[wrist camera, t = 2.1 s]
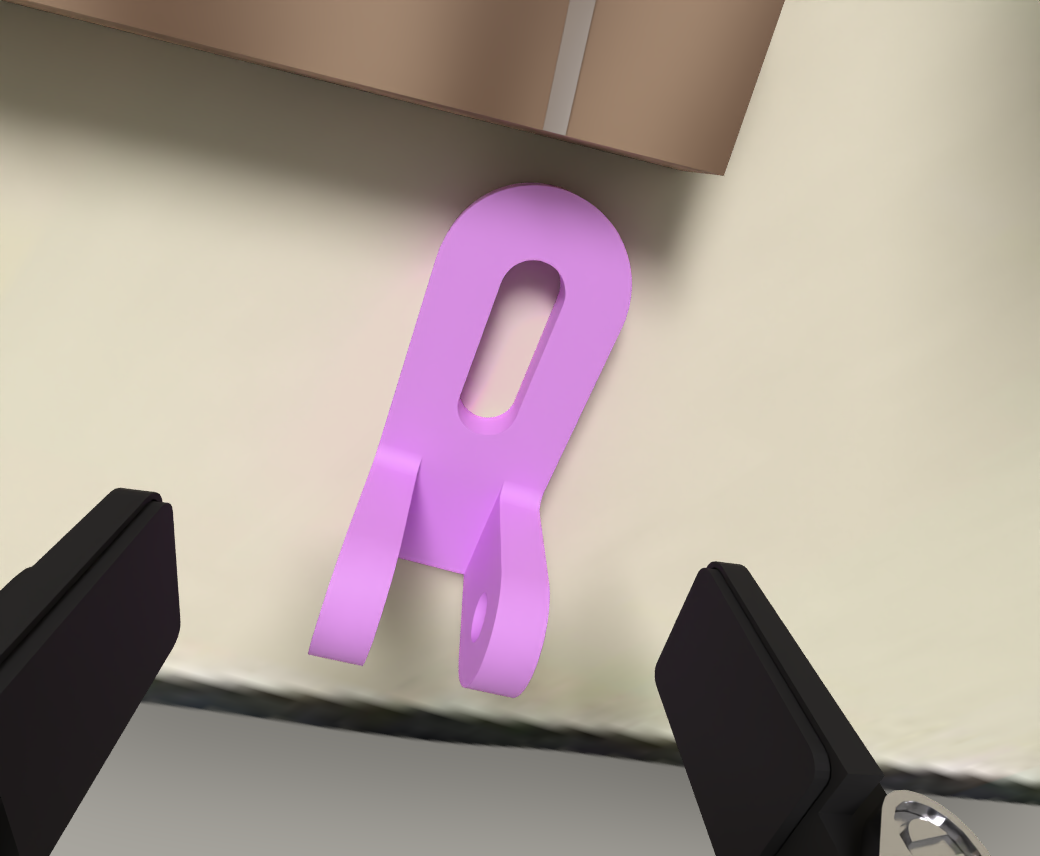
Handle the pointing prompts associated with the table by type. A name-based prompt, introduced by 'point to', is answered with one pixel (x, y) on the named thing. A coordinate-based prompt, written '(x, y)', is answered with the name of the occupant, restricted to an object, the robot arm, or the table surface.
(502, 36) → the walnut plank
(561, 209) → the bracket
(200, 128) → the table surface
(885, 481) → the table surface
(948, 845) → the robot arm
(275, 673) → the table surface
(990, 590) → the table surface
